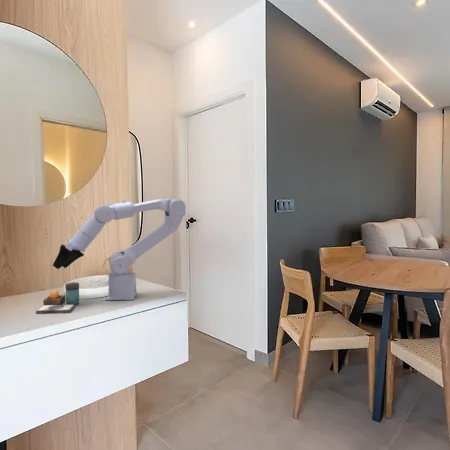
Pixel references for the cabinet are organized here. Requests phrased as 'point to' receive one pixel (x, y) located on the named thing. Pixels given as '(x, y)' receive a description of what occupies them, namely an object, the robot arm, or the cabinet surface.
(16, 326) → the cabinet surface
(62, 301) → the button collar
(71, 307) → the drawing pad
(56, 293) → the button
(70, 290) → the cylinder
